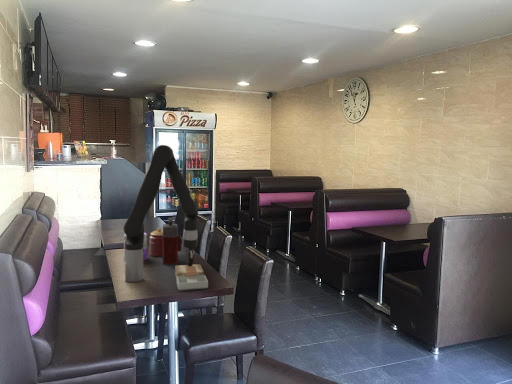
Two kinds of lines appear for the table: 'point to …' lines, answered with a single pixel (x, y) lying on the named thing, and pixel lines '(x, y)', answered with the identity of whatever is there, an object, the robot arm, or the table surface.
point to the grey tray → (185, 285)
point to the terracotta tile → (190, 270)
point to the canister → (156, 243)
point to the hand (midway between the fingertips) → (190, 269)
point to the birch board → (181, 270)
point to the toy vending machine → (171, 243)
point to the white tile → (192, 280)
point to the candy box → (143, 246)
